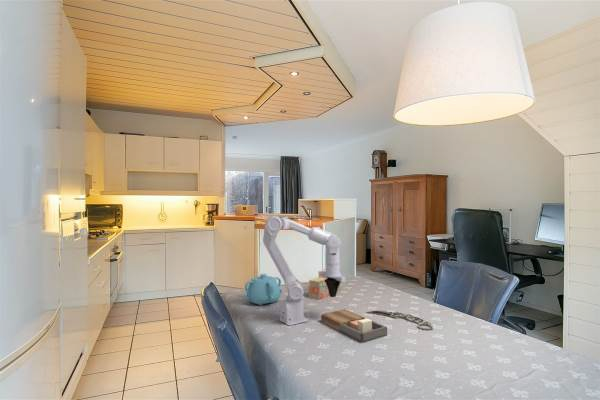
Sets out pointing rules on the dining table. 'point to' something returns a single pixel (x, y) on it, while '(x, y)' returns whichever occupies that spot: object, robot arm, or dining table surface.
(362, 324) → the cream tile
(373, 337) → the gray box
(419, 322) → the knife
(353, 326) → the salmon cube
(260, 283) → the decorative pot
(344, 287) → the dining table surface
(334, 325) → the wooden square board
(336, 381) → the dining table surface
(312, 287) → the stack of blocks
